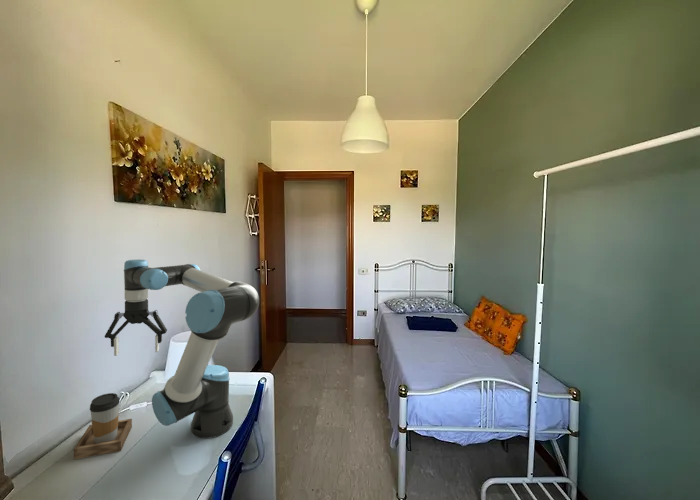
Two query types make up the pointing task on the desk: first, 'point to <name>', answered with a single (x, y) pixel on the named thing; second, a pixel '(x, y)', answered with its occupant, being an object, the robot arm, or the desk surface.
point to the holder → (90, 448)
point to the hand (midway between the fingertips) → (137, 352)
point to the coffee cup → (105, 417)
